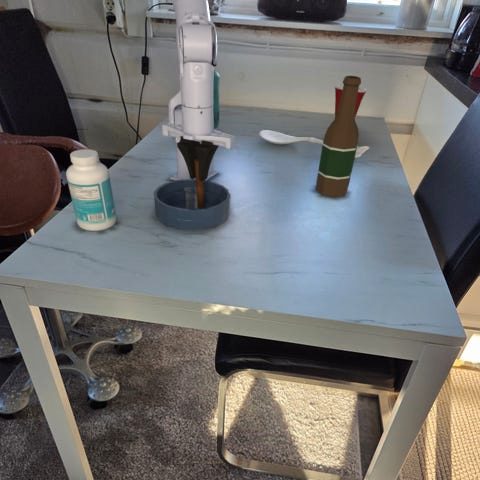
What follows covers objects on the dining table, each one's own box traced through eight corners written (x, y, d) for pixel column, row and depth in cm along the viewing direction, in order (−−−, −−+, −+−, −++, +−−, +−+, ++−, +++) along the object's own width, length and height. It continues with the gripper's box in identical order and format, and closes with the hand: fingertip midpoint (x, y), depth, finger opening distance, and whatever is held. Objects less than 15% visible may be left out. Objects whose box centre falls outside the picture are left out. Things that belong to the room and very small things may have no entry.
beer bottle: (343, 185, 104) (366, 74, 89) (351, 199, 98) (377, 81, 83) (312, 184, 103) (330, 72, 88) (317, 198, 98) (337, 80, 82)
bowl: (180, 193, 96) (179, 173, 93) (241, 208, 91) (242, 188, 88) (140, 220, 85) (138, 198, 82) (207, 238, 81) (207, 217, 78)
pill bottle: (101, 211, 87) (89, 143, 79) (124, 223, 84) (115, 153, 75) (69, 223, 83) (53, 153, 74) (92, 236, 79) (78, 164, 71)
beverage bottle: (195, 128, 134) (193, 55, 122) (214, 127, 137) (215, 54, 124) (202, 134, 130) (202, 59, 117) (222, 133, 132) (224, 58, 120)
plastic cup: (365, 126, 146) (374, 87, 138) (347, 131, 140) (355, 91, 132) (340, 119, 151) (347, 81, 144) (321, 124, 145) (327, 84, 138)
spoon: (357, 166, 115) (360, 153, 112) (253, 143, 126) (254, 130, 124) (367, 157, 121) (370, 145, 119) (267, 135, 132) (268, 124, 130)
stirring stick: (200, 203, 91) (196, 157, 84) (206, 205, 90) (203, 159, 83) (196, 206, 90) (192, 161, 83) (202, 208, 89) (199, 162, 82)
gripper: (151, 103, 76) (156, 177, 85) (223, 115, 72) (221, 193, 80) (172, 95, 81) (175, 166, 90) (240, 107, 77) (237, 180, 85)
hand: (198, 178), depth 85 cm, fingers closed on stirring stick, 1 cm apart
